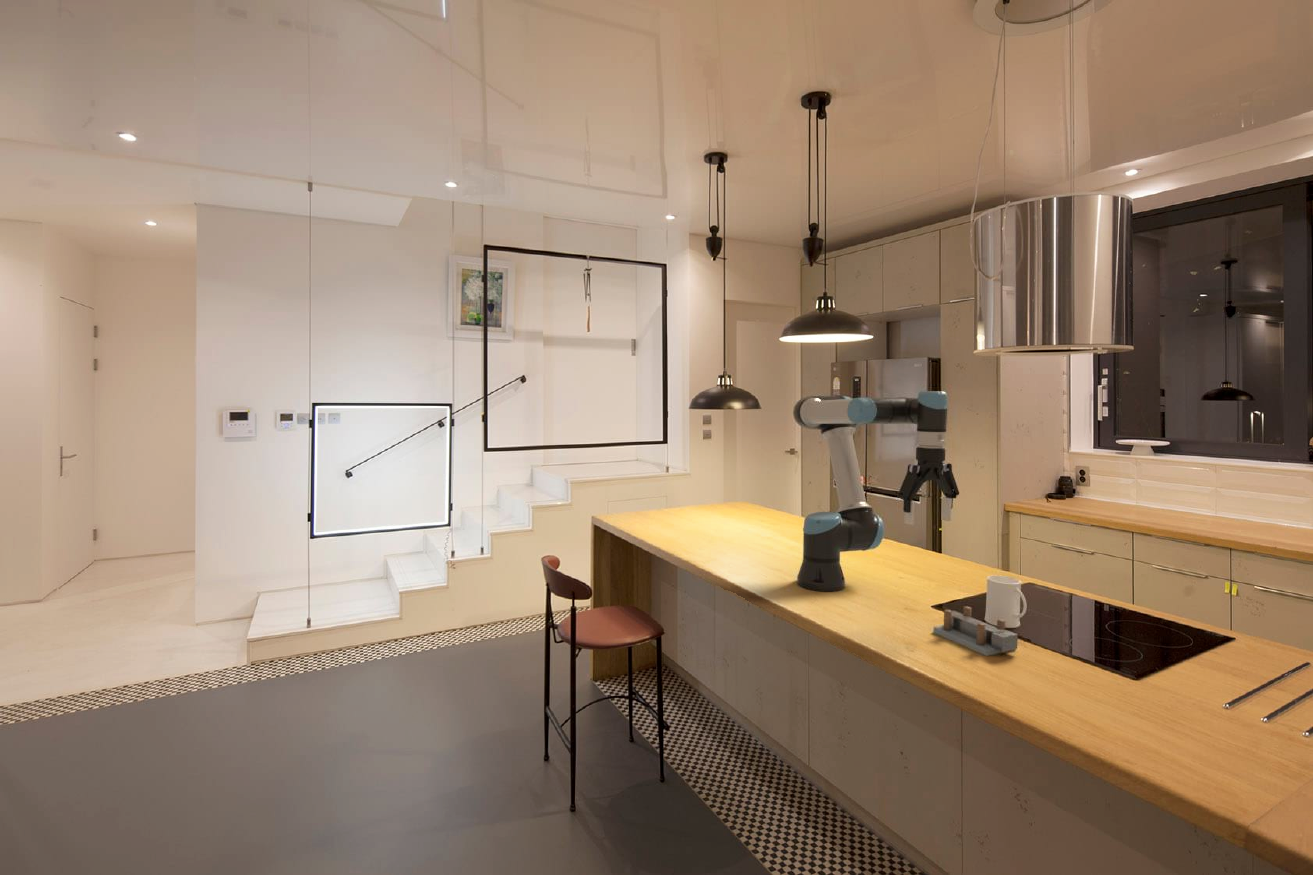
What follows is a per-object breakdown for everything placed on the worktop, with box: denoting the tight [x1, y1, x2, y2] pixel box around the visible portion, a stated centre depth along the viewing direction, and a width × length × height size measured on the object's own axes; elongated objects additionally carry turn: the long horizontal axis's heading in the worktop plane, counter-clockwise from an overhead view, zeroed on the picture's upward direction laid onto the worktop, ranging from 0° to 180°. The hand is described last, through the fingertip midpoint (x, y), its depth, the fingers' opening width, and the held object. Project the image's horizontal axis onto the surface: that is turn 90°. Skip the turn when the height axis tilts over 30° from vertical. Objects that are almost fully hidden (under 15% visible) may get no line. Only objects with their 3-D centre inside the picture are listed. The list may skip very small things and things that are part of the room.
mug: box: [984, 574, 1028, 629], centre depth 170 cm, size 12×8×12 cm
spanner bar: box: [951, 610, 1019, 653], centre depth 157 cm, size 18×5×4 cm, turn 22°
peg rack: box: [932, 606, 1017, 657], centre depth 159 cm, size 16×10×6 cm, turn 22°
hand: (927, 522), depth 176 cm, fingers open, 13 cm apart
